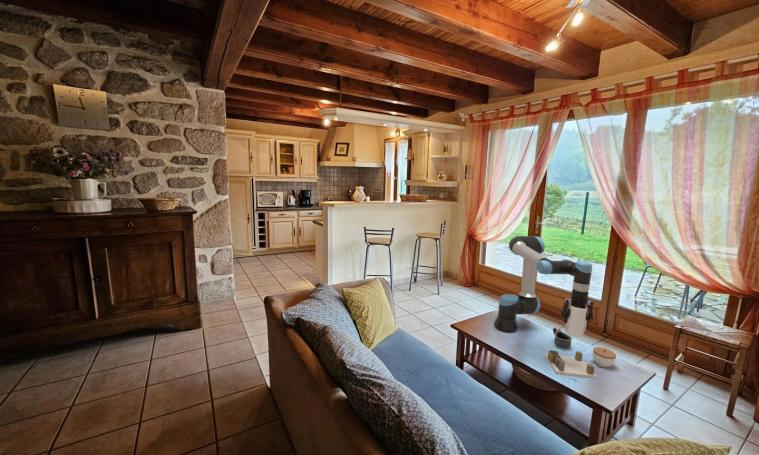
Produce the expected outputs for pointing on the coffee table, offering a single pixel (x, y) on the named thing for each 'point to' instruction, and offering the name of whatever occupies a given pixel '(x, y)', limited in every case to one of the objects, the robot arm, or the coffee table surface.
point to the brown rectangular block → (556, 358)
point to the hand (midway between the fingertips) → (574, 329)
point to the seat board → (572, 366)
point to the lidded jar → (603, 357)
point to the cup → (576, 321)
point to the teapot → (561, 338)
